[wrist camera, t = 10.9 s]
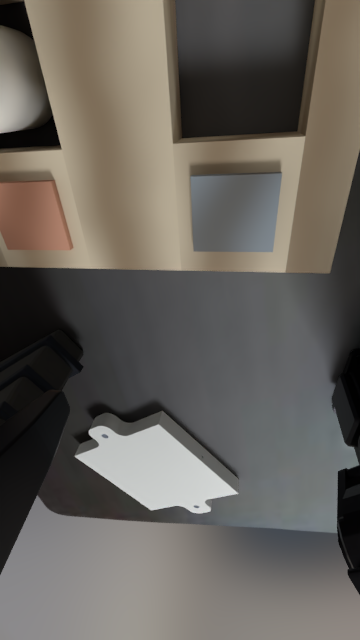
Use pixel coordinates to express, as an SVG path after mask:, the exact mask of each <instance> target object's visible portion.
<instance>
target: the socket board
mask: <svg viewBox="0 0 360 640" xmlns="http://www.w3.org/2000/svg"><path fill="white" fill-rule="evenodd" d="M23 1H25V5H26V9H27V13H28V17H29V21H30V25H31V29H32V33H33V37H34V41H35V45H36V49H37V53H38V57H39V61H40V65H41V69H42V73H43V77H44V81H45V85H46V89H47V93H48V97H49V101H50V105H51V109H52V113H53V117H54V121H55V124H56V128H57V132H58V136H59V140H60V144H61V145H56V146H39V147H22V148H5V149H0V267H39V268H89V269H138V270H187V271H236V272H286V273H330V271H331V266H332V262H333V258H334V254H335V250H336V246H337V242H338V237H339V233H340V229H341V225H342V221H343V217H344V212H345V208H346V204H347V200H348V196H349V192H350V188H351V183H352V179H353V175H354V171H355V167H356V163H357V159H358V154H359V150H360V0H315V4H314V12H313V19H312V27H311V34H310V41H309V49H308V56H307V64H306V71H305V79H304V86H303V94H302V101H301V109H300V116H299V124H298V131H296V132H279V133H262V134H245V135H228V136H210V137H193V138H182V126H181V106H180V87H179V68H178V48H177V29H176V10H175V0H0V5H3V4H10V3H16V2H23Z"/></svg>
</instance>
